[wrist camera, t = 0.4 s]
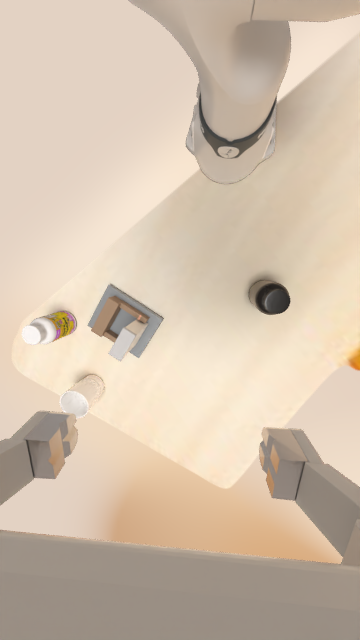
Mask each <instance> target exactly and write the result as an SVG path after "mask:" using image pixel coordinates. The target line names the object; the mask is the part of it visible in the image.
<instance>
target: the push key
mask: <svg viewBox="0 0 360 640" xmlns="http://www.w3.org/2000/svg"><path fill="white" fill-rule="evenodd" d="M147 326H148V323H143V322H142V321H140V320H137V319H136V320H135V321H133V322H132V323H130V324H129V325H128V326H126V327H124V328H123V329H122V331H121V332H120V334H119V336H118V338H117V339H116V341H115V343H114V345H113V346H112V348H111V350H110V352H109V353H108V354H109V355H111V356H113V357H114V358H116V359H117V360H119V361H121V360H122V359H123V358H124V357H125V356H126V354H127V353H128V352H129V351H130V350H131V349H132V348H133V347H134V346H135V345H136V344H137V342H138V340H139V339H140V337H141V335H142V334H143V332H144V330H145V329H146V327H147Z"/></svg>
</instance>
